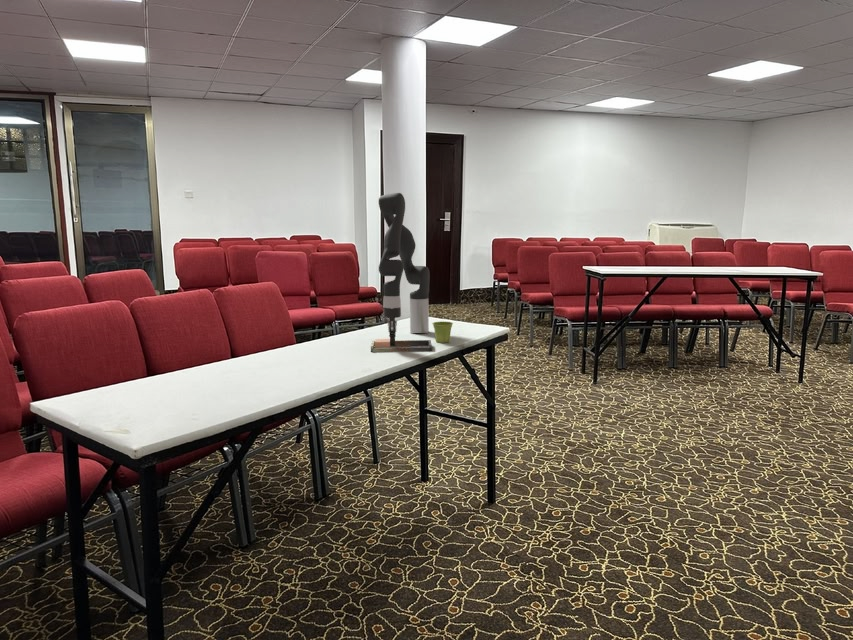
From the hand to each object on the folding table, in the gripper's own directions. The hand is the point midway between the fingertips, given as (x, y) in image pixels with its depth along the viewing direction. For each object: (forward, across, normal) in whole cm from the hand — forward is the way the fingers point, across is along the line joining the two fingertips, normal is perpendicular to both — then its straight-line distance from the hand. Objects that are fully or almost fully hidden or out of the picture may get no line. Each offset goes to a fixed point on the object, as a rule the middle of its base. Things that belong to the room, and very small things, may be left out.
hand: (392, 345), depth 254 cm
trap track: (+2, 0, +4) cm, 4 cm away
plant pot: (+2, -14, +23) cm, 27 cm away
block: (+2, 0, -4) cm, 5 cm away
